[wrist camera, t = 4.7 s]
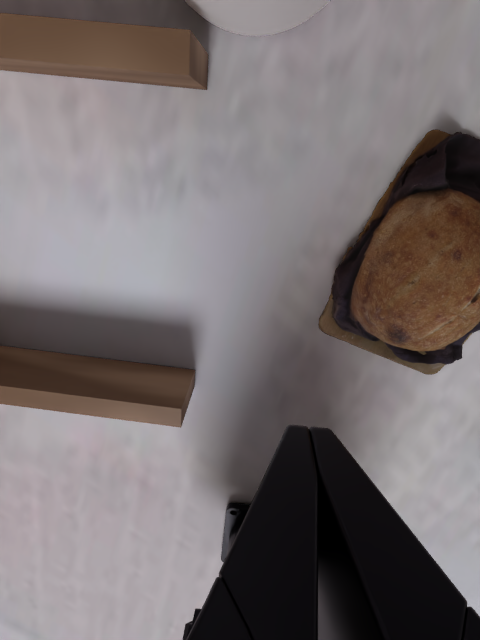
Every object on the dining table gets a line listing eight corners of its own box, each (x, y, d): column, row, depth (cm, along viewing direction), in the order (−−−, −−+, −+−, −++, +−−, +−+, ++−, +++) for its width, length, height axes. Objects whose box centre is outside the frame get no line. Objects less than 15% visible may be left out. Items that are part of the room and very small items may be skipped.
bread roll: (433, 374, 21) (464, 418, 18) (301, 318, 20) (307, 354, 17) (582, 196, 16) (662, 210, 13) (418, 112, 15) (459, 105, 12)
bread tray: (194, 386, 22) (180, 427, 19) (-48, 355, 22) (-101, 390, 19) (208, 54, 14) (190, 29, 11) (-151, 21, 15) (-263, -11, 12)
